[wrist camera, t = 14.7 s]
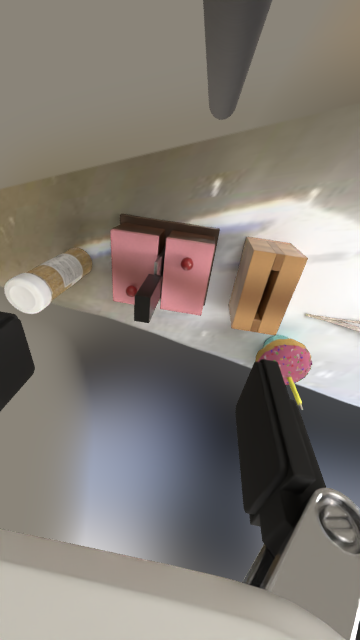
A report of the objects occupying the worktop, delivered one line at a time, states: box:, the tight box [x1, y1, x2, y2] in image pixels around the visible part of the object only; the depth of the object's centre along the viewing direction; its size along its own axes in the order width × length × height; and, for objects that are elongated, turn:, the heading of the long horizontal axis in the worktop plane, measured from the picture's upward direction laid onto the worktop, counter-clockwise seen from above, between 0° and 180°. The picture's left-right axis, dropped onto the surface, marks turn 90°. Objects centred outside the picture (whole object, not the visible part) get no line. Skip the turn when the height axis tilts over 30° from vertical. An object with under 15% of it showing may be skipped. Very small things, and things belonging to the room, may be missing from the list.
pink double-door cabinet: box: [110, 214, 220, 316], centre depth 33 cm, size 12×14×7 cm
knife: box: [134, 246, 166, 323], centre depth 30 cm, size 6×2×14 cm, turn 174°
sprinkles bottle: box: [4, 248, 92, 314], centre depth 32 cm, size 5×5×13 cm
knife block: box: [229, 237, 308, 335], centre depth 33 cm, size 11×6×7 cm, turn 174°
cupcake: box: [255, 335, 312, 410], centre depth 37 cm, size 9×8×12 cm
